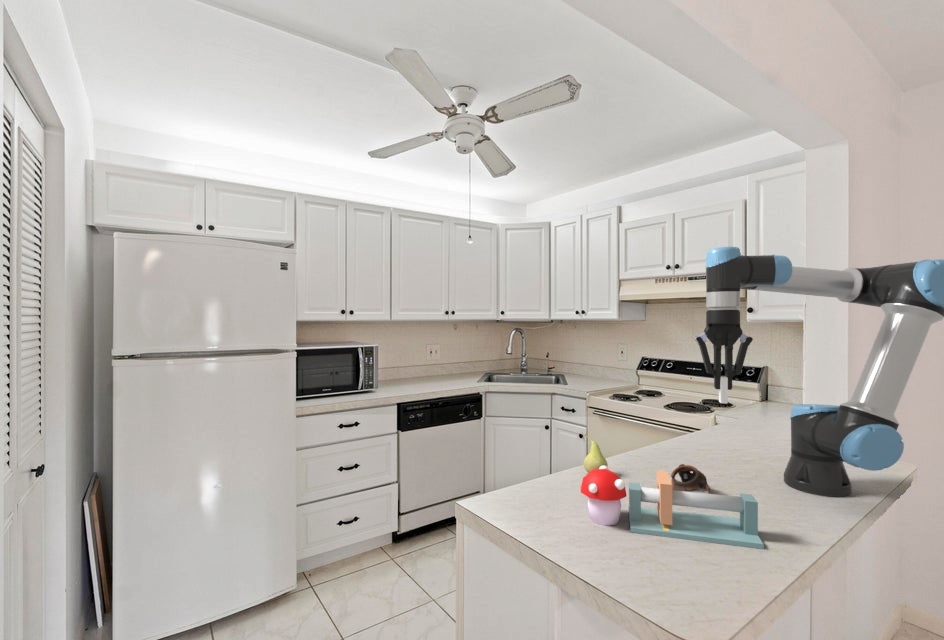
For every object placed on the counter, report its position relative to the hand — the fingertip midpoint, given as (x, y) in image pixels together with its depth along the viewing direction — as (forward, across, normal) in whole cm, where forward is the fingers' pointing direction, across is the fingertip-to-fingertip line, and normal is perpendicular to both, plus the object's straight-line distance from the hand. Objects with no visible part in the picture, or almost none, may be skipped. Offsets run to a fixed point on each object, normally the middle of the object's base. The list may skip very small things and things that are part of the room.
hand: (723, 402), depth 114 cm
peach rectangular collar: (+24, +15, +15) cm, 33 cm away
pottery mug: (+27, +7, -8) cm, 29 cm away
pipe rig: (+26, +10, +15) cm, 32 cm away
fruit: (+27, +32, -14) cm, 44 cm away
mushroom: (+27, +29, +16) cm, 42 cm away
